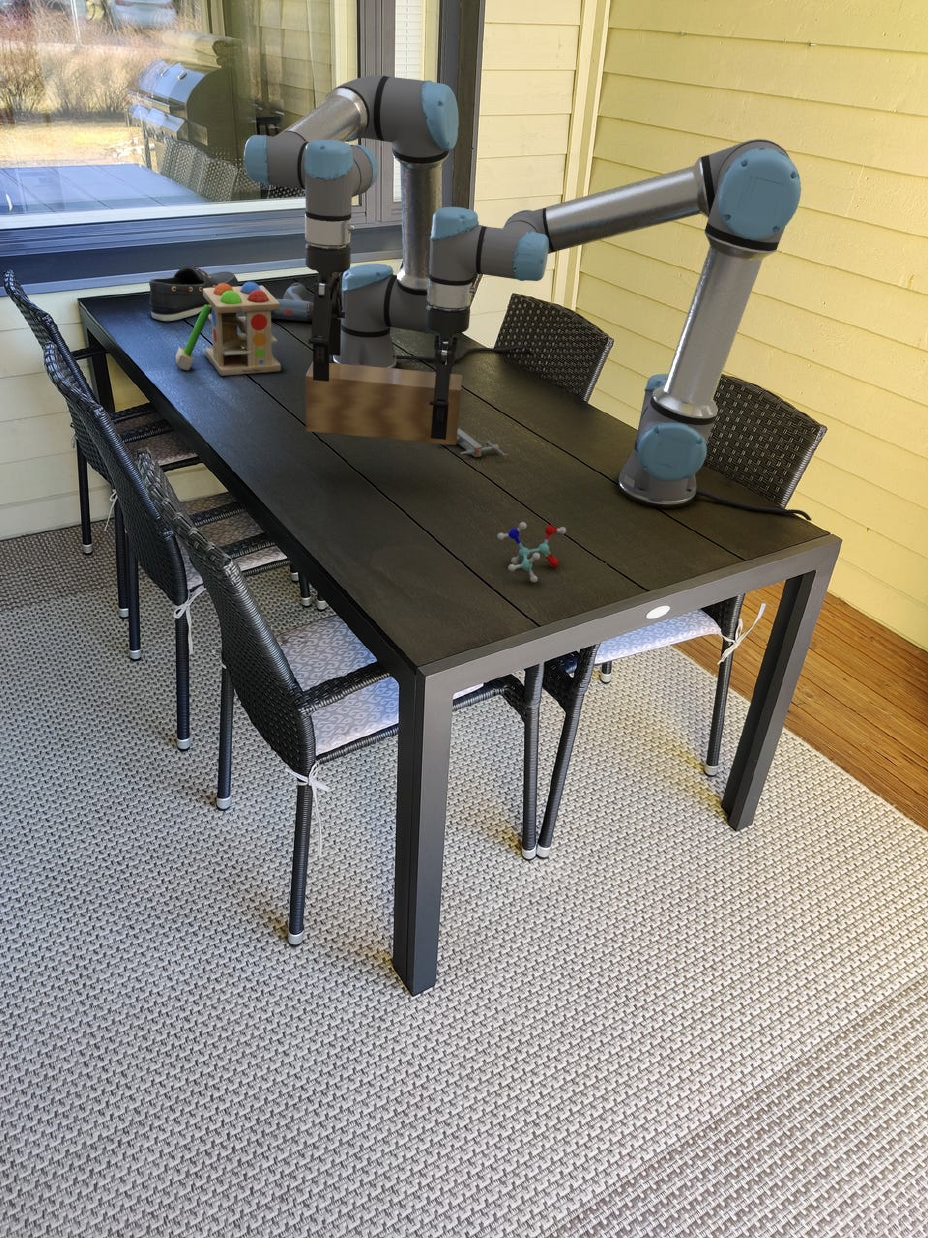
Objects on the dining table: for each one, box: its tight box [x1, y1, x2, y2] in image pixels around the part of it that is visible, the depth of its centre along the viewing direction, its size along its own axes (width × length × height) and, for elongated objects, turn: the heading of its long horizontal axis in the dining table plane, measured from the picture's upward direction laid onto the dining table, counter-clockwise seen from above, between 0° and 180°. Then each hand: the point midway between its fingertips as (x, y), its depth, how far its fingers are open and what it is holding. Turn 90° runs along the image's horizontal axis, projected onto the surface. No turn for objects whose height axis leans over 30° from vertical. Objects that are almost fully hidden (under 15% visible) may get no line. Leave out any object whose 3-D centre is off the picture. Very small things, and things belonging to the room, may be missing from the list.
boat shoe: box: [148, 265, 240, 322], centre depth 262 cm, size 13×33×10 cm, turn 147°
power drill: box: [271, 282, 314, 322], centre depth 265 cm, size 5×19×20 cm
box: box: [305, 361, 463, 446], centre depth 179 cm, size 27×8×10 cm, turn 88°
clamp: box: [439, 427, 508, 459], centre depth 202 cm, size 15×2×10 cm
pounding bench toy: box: [174, 281, 282, 377], centre depth 225 cm, size 23×14×18 cm, turn 116°
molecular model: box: [496, 521, 567, 583], centre depth 163 cm, size 12×10×10 cm
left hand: (327, 367), depth 175 cm, fingers open, 13 cm apart
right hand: (439, 428), depth 181 cm, fingers closed on box, 8 cm apart
